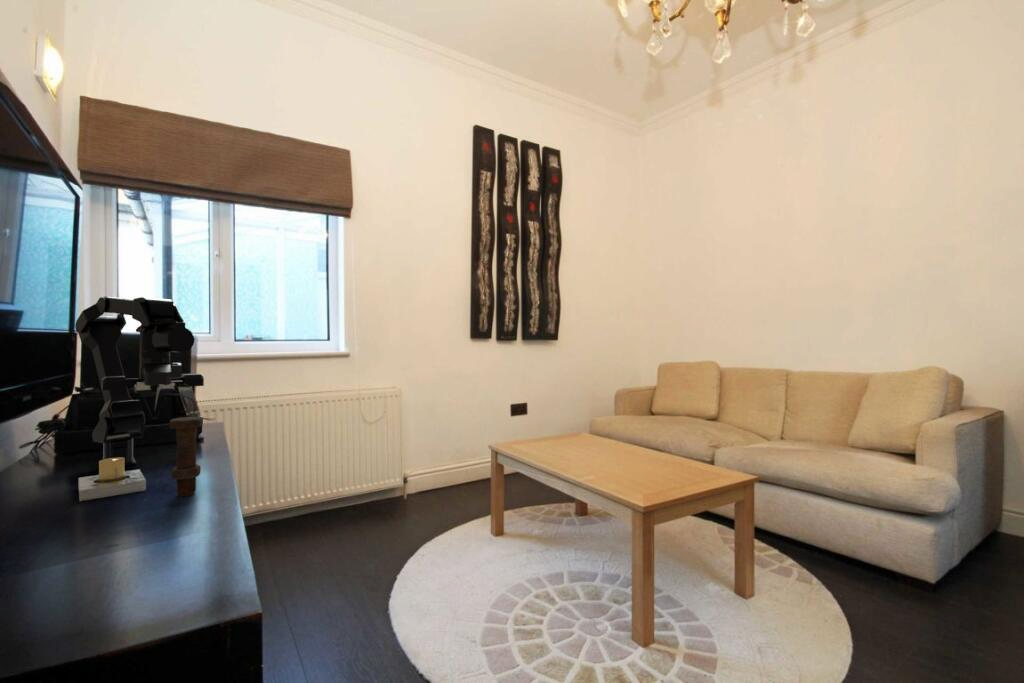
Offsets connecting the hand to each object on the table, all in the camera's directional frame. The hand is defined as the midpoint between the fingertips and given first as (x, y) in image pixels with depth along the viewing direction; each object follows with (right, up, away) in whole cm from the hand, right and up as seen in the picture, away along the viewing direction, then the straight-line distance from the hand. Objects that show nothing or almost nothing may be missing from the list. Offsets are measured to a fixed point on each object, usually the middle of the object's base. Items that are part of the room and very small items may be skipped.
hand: (154, 418), depth 111 cm
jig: (+1, -12, -13) cm, 18 cm away
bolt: (+19, -12, -17) cm, 29 cm away
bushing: (+1, -12, -13) cm, 18 cm away
